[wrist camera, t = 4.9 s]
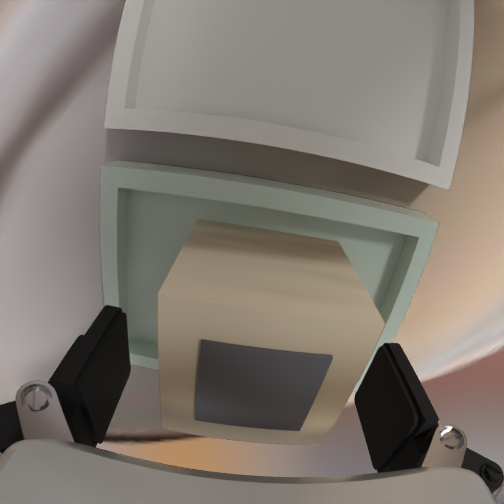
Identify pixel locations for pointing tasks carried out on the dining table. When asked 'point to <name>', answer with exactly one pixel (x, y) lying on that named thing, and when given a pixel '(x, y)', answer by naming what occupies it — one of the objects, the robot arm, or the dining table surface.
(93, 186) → the dining table surface
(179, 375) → the light wooden cube
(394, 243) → the tray sage
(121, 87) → the tray white
